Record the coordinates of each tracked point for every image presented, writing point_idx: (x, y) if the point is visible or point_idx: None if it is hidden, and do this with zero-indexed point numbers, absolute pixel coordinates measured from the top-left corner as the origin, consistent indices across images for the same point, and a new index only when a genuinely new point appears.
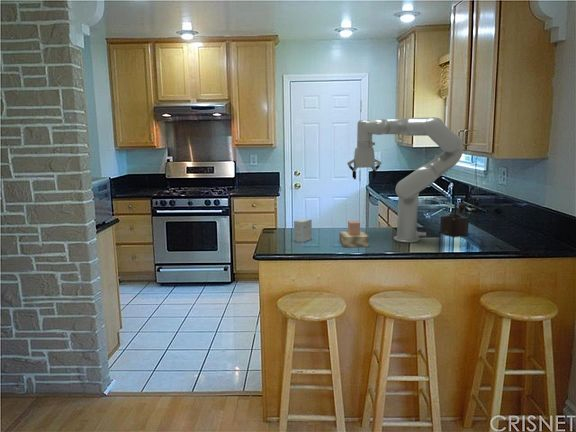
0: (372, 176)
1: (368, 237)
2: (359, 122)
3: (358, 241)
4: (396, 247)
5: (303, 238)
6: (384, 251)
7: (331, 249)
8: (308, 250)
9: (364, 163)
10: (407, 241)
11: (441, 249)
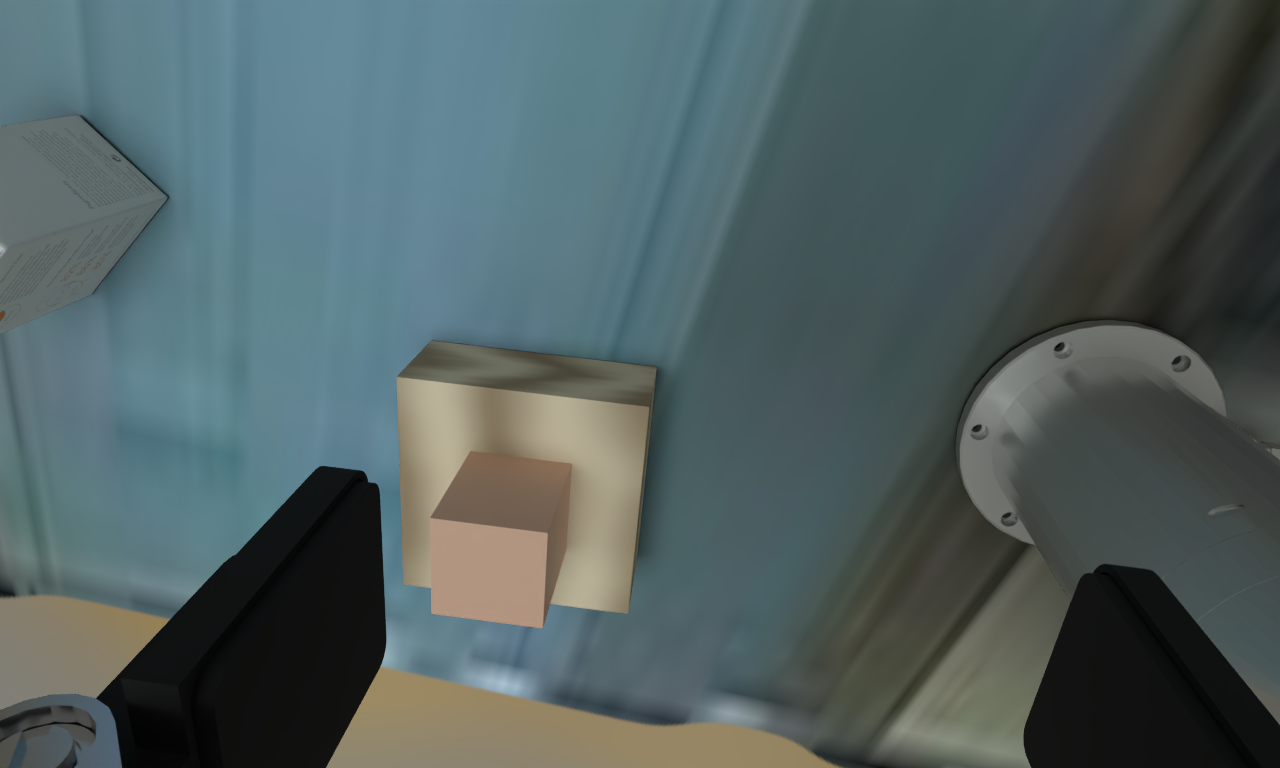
0: (1090, 684)
1: (627, 608)
2: None
3: None
4: (850, 623)
5: (74, 298)
6: (709, 689)
7: None
8: (159, 543)
9: None
10: (1024, 539)
11: None
